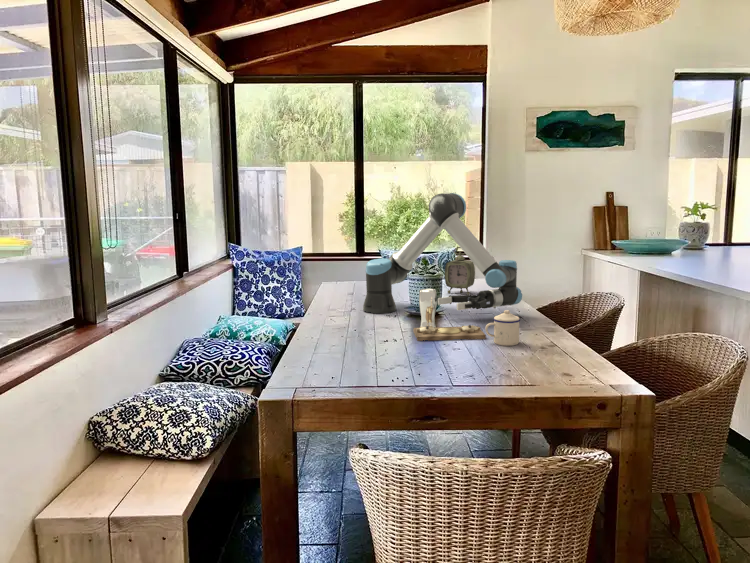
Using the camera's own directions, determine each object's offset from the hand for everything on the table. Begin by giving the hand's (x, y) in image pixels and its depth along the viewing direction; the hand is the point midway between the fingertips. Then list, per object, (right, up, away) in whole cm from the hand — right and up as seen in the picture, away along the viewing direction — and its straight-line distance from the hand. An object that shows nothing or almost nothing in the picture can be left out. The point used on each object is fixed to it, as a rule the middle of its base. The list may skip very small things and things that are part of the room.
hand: (447, 304), depth 227 cm
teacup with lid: (+16, -13, -29) cm, 35 cm away
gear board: (-2, -11, -16) cm, 20 cm away
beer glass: (-8, -9, -3) cm, 13 cm away
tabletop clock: (+16, +2, +73) cm, 75 cm away
